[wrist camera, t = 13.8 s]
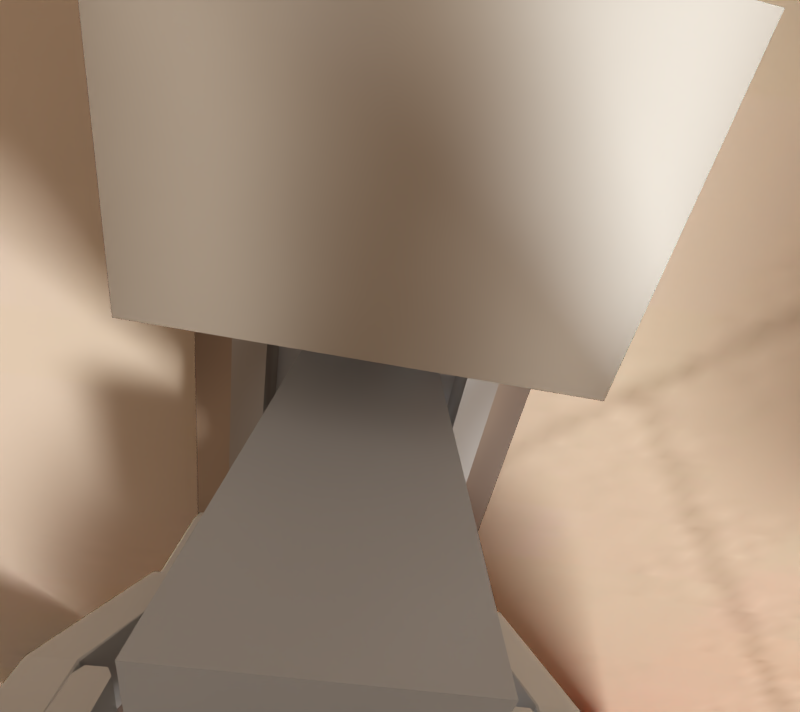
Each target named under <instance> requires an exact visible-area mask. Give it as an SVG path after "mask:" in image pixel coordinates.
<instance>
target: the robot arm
mask: <svg viewBox="0 0 800 712" xmlns="http://www.w3.org/2000/svg"><path fill="white" fill-rule="evenodd" d="M202 515H203V513H202V512H200V513H199V514H198V515H197V516H196V517H195V518H194V519H193V521H192V522H191V524H190V526H189V527H188V529H187V530H186V532H185V534H184V535H183V537H182V538H181V540H180V542H179V543H178V545H177V546H176V548H175V550H174V551H173V553H172V554H171V556H170V558H169V559H168V561H167V562H166V564H165V566H164V567H163V569H162V570H161V572H156V571H154V572H152V573H151V574H149V575H147V576H146V577H144V578H143V579H141V580H140V581H138V582H137V583H135V584H134V585H132V586H131V587H129V588H128V589H126V590H125V591H123V592H122V593H120V594H119V595H117V596H116V597H114V598H112V599H111V600H109V601H108V602H106V603H105V604H103V605H102V606H100V607H99V608H97V609H96V610H94V611H93V612H91V613H90V614H88V615H87V616H85V617H84V618H82V619H81V620H79V621H78V622H76V623H74V624H73V625H71V626H70V627H68V628H67V629H65V630H64V631H62V632H61V633H59V634H58V635H56V636H55V637H53V638H52V639H50V640H49V641H47V642H46V643H44V644H43V645H41V646H39V647H38V648H36V649H35V650H33V651H32V652H30V653H29V654H27V655H26V656H24V658H23V659H22V660H21V661H20V663H19V664H18V665H17V666H16V668H15V669H14V670H13V671H12V673H11V674H10V675H9V676H8V678H7V679H6V680H5V681H4V682H3V684H2V685H1V686H0V712H117V708H118V707H119V706H120V705H121V704H122V701H121V695H120V689H119V683H118V676H117V670H116V664H115V659H116V658H117V656H118V654H119V653H120V651H121V649H122V648H123V646H124V644H125V643H126V641H127V639H128V638H129V636H130V634H131V633H132V631H133V629H134V628H135V626H136V624H137V623H138V621H139V619H140V618H141V616H142V614H143V613H144V611H145V610H146V608H147V606H148V605H149V603H150V601H151V600H152V598H153V596H154V595H155V593H156V591H157V590H158V588H159V586H160V585H161V583H162V581H163V580H164V578H165V576H166V575H167V573H168V571H169V570H170V568H171V566H172V565H173V563H174V561H175V560H176V558H177V556H178V555H179V553H180V551H181V550H182V548H183V546H184V545H185V543H186V541H187V540H188V538H189V536H190V535H191V533H192V531H193V530H194V528H195V526H196V525H197V523H198V521H199V520H200V518H201V516H202ZM497 613H498V618H499V622H500V626H501V630H502V634H503V638H504V642H505V646H506V651H507V655H508V659H509V663H510V667H511V671H512V675H513V679H514V684H515V688H516V692H517V696H518V700H519V701H518V702H517V704H516V706H515V708H514V709H513V711H512V712H580V710H579V709H578V708H577V707H576V705H575V704H574V703H573V702H572V700H571V699H570V698H569V697H568V696H567V694H566V693H565V692H564V691H563V689H562V688H561V687H560V686H559V684H558V683H557V682H556V681H555V680H554V678H553V677H552V676H551V675H550V673H549V672H548V671H547V670H546V668H545V667H544V666H543V665H542V664H541V662H540V661H539V660H538V659H537V657H536V656H535V655H534V654H533V652H532V651H531V650H530V649H529V648H528V646H527V645H526V644H525V643H524V641H523V640H522V639H521V638H520V636H519V635H518V634H517V633H516V632H515V630H514V629H513V628H512V627H511V625H510V624H509V623H508V622H507V620H506V619H505V618H504V617H503V616H502V614H501V613H500V612H497Z"/></svg>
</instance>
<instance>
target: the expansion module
mask: <svg viewBox="0 0 800 712" xmlns="http://www.w3.org/2000/svg"><path fill="white" fill-rule="evenodd" d="M115 664H116V670H117V676H118V683H119V689H120V695H121V701H122V707H123V712H512V711H513V709H514V708H515V706H516V704H517V702H518V701H519V700H518V696H517V692H516V688H515V684H514V679H513V675H512V671H511V667H510V663H509V659H508V655H507V651H506V646H505V642H504V638H503V634H502V630H501V626H500V622H499V618H498V613H497V609H496V605H495V601H494V597H493V593H492V589H491V585H490V581H489V576H488V572H487V568H486V564H485V560H484V556H483V552H482V548H481V543H480V539H479V535H478V531H477V527H476V523H475V519H474V515H473V510H472V506H471V502H470V498H469V494H468V490H467V486H466V482H465V477H464V473H463V469H462V465H461V461H460V457H459V453H458V449H457V444H456V440H455V436H454V432H453V428H452V424H451V420H450V416H449V412H448V407H447V403H446V399H445V395H444V391H443V387H442V383H441V379H440V374H439V373H435V372H429V371H423V370H418V369H412V368H406V367H400V366H394V365H388V364H382V363H376V362H371V361H365V360H359V359H353V358H347V357H341V356H335V355H329V354H324V353H318V352H312V351H306V350H301V352H300V354H299V355H298V357H297V359H296V360H295V362H294V364H293V365H292V367H291V369H290V370H289V372H288V373H287V375H286V377H285V378H284V380H283V382H282V383H281V385H280V387H279V388H278V390H277V392H276V393H275V395H274V397H273V398H272V400H271V402H270V403H269V405H268V407H267V408H266V410H265V412H264V413H263V415H262V417H261V418H260V420H259V422H258V423H257V425H256V427H255V428H254V430H253V432H252V433H251V435H250V437H249V438H248V440H247V442H246V443H245V445H244V447H243V448H242V450H241V452H240V453H239V455H238V457H237V458H236V460H235V462H234V463H233V465H232V467H231V468H230V470H229V472H228V473H227V475H226V477H225V478H224V480H223V482H222V483H221V485H220V487H219V488H218V490H217V491H216V493H215V495H214V496H213V498H212V500H211V501H210V503H209V505H208V506H207V508H206V510H205V511H204V513H203V515H202V516H201V518H200V520H199V521H198V523H197V525H196V526H195V528H194V530H193V531H192V533H191V535H190V536H189V538H188V540H187V541H186V543H185V545H184V546H183V548H182V550H181V551H180V553H179V555H178V556H177V558H176V560H175V561H174V563H173V565H172V566H171V568H170V570H169V571H168V573H167V575H166V576H165V578H164V580H163V581H162V583H161V585H160V586H159V588H158V590H157V591H156V593H155V595H154V596H153V598H152V600H151V601H150V603H149V605H148V606H147V608H146V610H145V611H144V613H143V614H142V616H141V618H140V619H139V621H138V623H137V624H136V626H135V628H134V629H133V631H132V633H131V634H130V636H129V638H128V639H127V641H126V643H125V644H124V646H123V648H122V649H121V651H120V653H119V654H118V656H117V658H116V659H115Z"/></svg>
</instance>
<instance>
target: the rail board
mask: <svg viewBox="0 0 800 712" xmlns="http://www.w3.org/2000/svg"><path fill="white" fill-rule="evenodd" d="M78 4H79V14H80V23H81V32H82V42H83V51H84V60H85V70H86V79H87V88H88V98H89V107H90V116H91V126H92V135H93V144H94V154H95V163H96V172H97V182H98V191H99V200H100V210H101V219H102V228H103V237H104V247H105V256H106V265H107V275H108V284H109V293H110V303H111V312H112V318H118V319H124V320H129V321H135V322H141V323H147V324H153V325H159V326H165V327H171V328H177V329H182V330H188V331H194V332H195V378H196V430H197V482H198V514H199V513H200V512H202V513H204V511H205V510H206V508H207V506H208V505H209V503H210V501H211V500H212V498H213V496H214V495H215V493H216V491H217V490H218V488H219V487H220V485H221V483H222V482H223V480H224V478H225V477H226V475H227V473H228V472H229V470H230V468H231V467H232V465H233V463H234V462H235V460H236V458H237V457H238V455H239V453H240V452H241V450H242V448H243V447H244V445H245V443H246V442H247V440H248V438H249V437H250V435H251V433H252V432H253V430H254V428H255V427H256V425H257V423H258V422H259V420H260V418H261V417H262V415H263V413H264V412H265V410H266V408H267V407H268V405H269V403H270V402H271V400H272V398H273V397H274V395H275V393H276V392H277V390H278V388H279V387H280V385H281V383H282V382H283V380H284V378H285V377H286V375H287V373H288V372H289V370H290V369H291V367H292V365H293V364H294V362H295V360H296V359H297V357H298V355H299V354H300V352H301V350H306V351H312V352H318V353H324V354H329V355H335V356H341V357H347V358H353V359H359V360H365V361H371V362H376V363H382V364H388V365H394V366H400V367H406V368H412V369H418V370H423V371H429V372H435V373H439V374H440V379H441V383H442V387H443V391H444V395H445V399H446V403H447V407H448V412H449V416H450V420H451V424H452V428H453V432H454V436H455V440H456V444H457V449H458V453H459V457H460V461H461V465H462V469H463V473H464V477H465V482H466V486H467V490H468V494H469V498H470V502H471V506H472V510H473V515H474V519H475V523H476V527H477V531H478V530H479V527H480V524H481V522H482V519H483V516H484V514H485V511H486V508H487V505H488V503H489V500H490V497H491V495H492V492H493V489H494V487H495V484H496V481H497V478H498V476H499V473H500V470H501V468H502V465H503V462H504V459H505V457H506V454H507V451H508V449H509V446H510V443H511V440H512V438H513V435H514V432H515V430H516V427H517V424H518V421H519V419H520V416H521V413H522V411H523V408H524V405H525V402H526V400H527V397H528V394H529V392H530V389H535V390H541V391H547V392H553V393H559V394H565V395H570V396H576V397H582V398H588V399H594V400H600V401H604V400H605V398H606V396H607V394H608V391H609V389H610V387H611V385H612V383H613V380H614V378H615V376H616V374H617V372H618V370H619V367H620V365H621V363H622V361H623V359H624V357H625V354H626V352H627V350H628V348H629V346H630V344H631V341H632V339H633V337H634V335H635V333H636V331H637V328H638V326H639V324H640V322H641V320H642V317H643V315H644V313H645V311H646V309H647V307H648V304H649V302H650V300H651V298H652V296H653V294H654V291H655V289H656V287H657V285H658V283H659V281H660V278H661V276H662V274H663V272H664V270H665V267H666V265H667V263H668V261H669V259H670V257H671V254H672V252H673V250H674V248H675V246H676V244H677V241H678V239H679V237H680V235H681V233H682V231H683V228H684V226H685V224H686V222H687V220H688V218H689V215H690V213H691V211H692V209H693V207H694V204H695V202H696V200H697V198H698V196H699V194H700V191H701V189H702V187H703V185H704V183H705V181H706V178H707V176H708V174H709V172H710V170H711V168H712V165H713V163H714V161H715V159H716V157H717V155H718V152H719V150H720V148H721V146H722V144H723V141H724V139H725V137H726V135H727V133H728V131H729V128H730V126H731V124H732V122H733V120H734V118H735V115H736V113H737V111H738V109H739V107H740V105H741V102H742V100H743V98H744V96H745V94H746V91H747V89H748V87H749V85H750V83H751V81H752V78H753V76H754V74H755V72H756V70H757V68H758V65H759V63H760V61H761V59H762V57H763V55H764V52H765V50H766V48H767V46H768V44H769V42H770V39H771V37H772V35H773V33H774V31H775V28H776V26H777V24H778V22H779V20H780V18H781V15H782V13H783V11H784V9H785V8H783V7H780V6H776V5H772V4H769V3H765V2H761V1H758V0H78Z"/></svg>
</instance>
